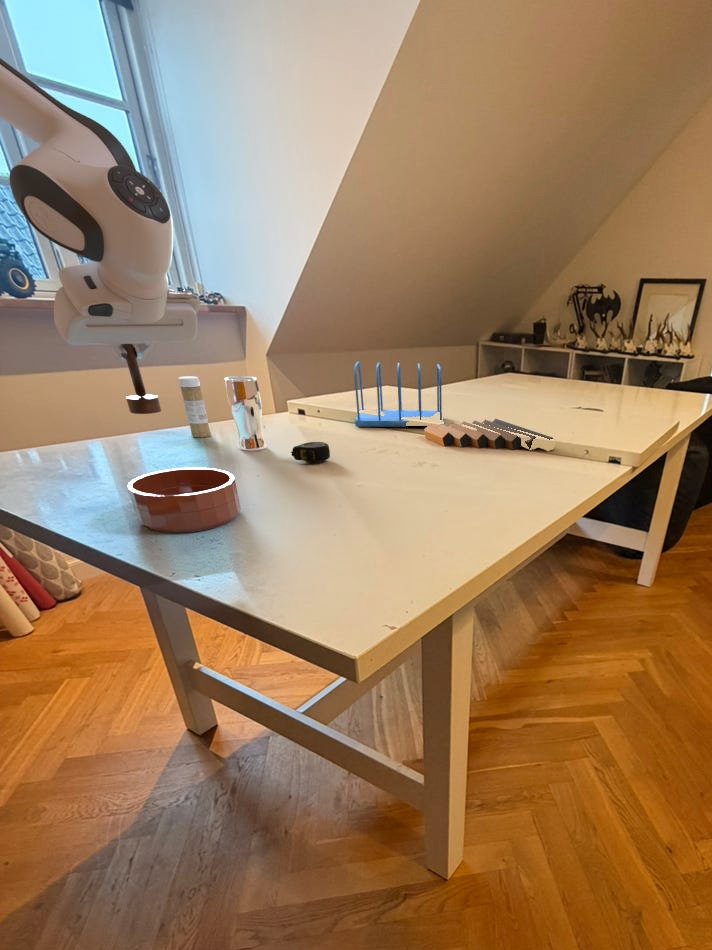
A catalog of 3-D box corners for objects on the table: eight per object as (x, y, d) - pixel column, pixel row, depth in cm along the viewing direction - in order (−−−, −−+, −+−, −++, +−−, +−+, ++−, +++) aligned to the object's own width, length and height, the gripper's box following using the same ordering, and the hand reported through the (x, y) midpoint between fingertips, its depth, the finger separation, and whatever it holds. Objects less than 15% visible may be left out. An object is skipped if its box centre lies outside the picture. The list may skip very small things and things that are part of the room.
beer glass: (250, 443, 131) (238, 375, 123) (274, 446, 130) (264, 377, 122) (230, 449, 126) (216, 378, 118) (255, 452, 124) (242, 381, 116)
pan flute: (555, 450, 138) (500, 430, 155) (557, 436, 136) (500, 418, 153) (474, 461, 126) (423, 438, 143) (474, 446, 124) (423, 424, 141)
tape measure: (312, 456, 124) (310, 439, 122) (337, 460, 122) (335, 443, 120) (292, 462, 119) (289, 445, 117) (317, 467, 116) (315, 449, 114)
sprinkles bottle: (206, 433, 138) (193, 375, 131) (214, 436, 136) (202, 377, 128) (188, 435, 135) (173, 376, 128) (196, 438, 133) (182, 378, 125)
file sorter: (441, 417, 168) (441, 362, 160) (444, 429, 154) (445, 369, 145) (360, 415, 165) (355, 359, 157) (355, 427, 151) (350, 366, 142)
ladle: (129, 414, 94) (97, 304, 86) (130, 409, 98) (99, 303, 89) (161, 413, 97) (133, 305, 88) (161, 408, 100) (133, 304, 91)
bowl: (139, 540, 80) (126, 501, 77) (139, 508, 91) (128, 472, 88) (247, 526, 87) (240, 489, 83) (235, 498, 98) (228, 464, 94)
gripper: (191, 275, 89) (181, 338, 99) (45, 268, 76) (51, 341, 86) (210, 308, 89) (198, 368, 99) (67, 307, 76) (70, 375, 86)
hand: (129, 355), depth 93 cm, fingers closed on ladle
